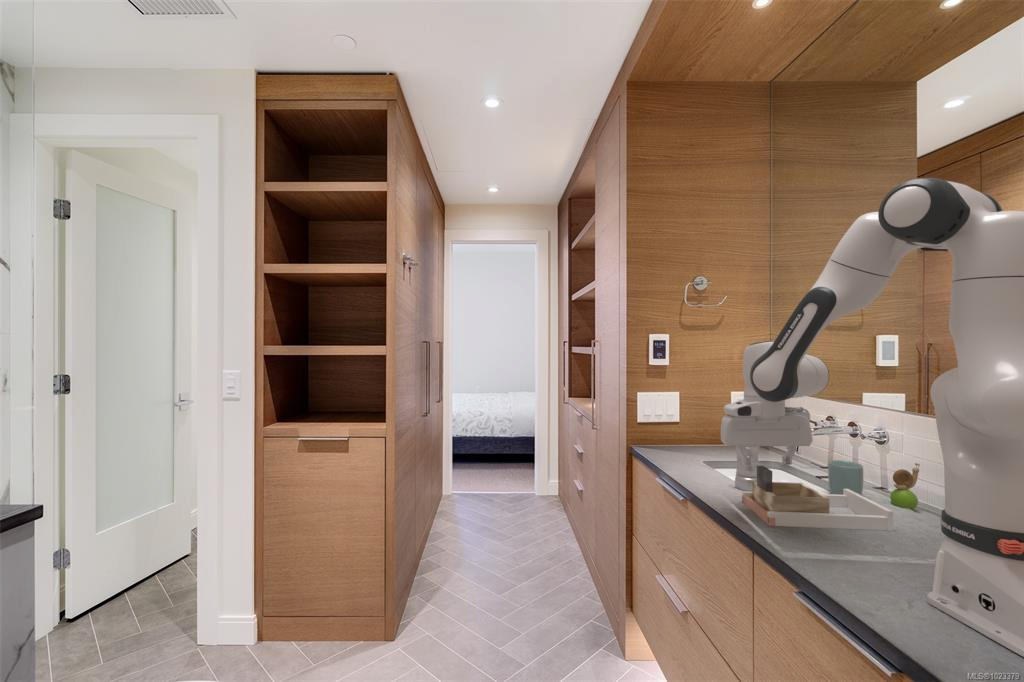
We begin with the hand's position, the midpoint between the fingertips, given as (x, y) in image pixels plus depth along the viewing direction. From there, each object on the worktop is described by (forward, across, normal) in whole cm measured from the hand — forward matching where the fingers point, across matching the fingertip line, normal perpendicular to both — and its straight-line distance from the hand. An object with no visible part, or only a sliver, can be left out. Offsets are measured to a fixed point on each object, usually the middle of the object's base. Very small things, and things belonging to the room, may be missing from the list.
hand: (766, 464), depth 111 cm
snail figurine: (+14, -38, -11) cm, 42 cm away
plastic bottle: (+13, -3, -21) cm, 25 cm away
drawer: (+12, -5, -1) cm, 13 cm away
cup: (+14, -27, -17) cm, 35 cm away
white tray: (+14, -10, -1) cm, 17 cm away
